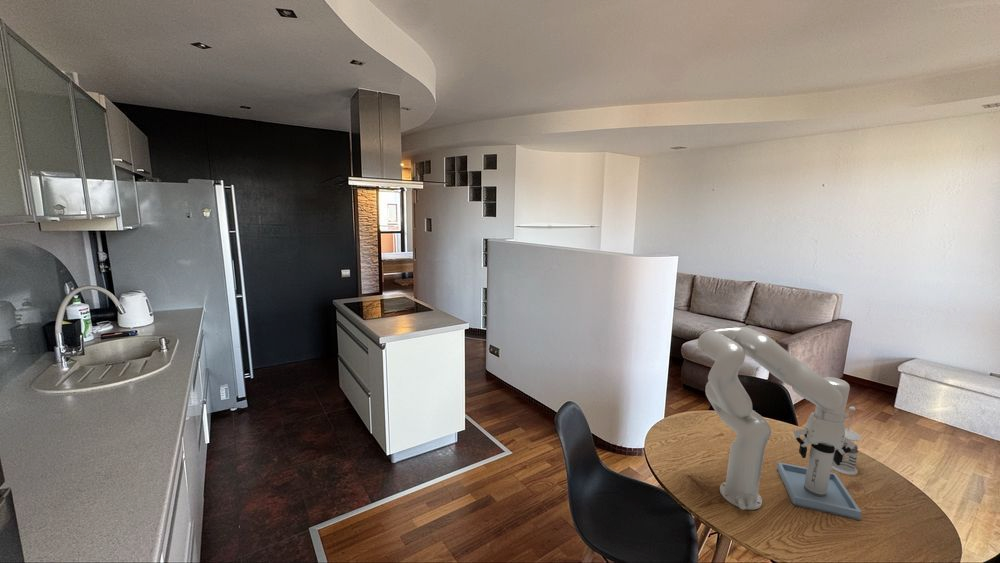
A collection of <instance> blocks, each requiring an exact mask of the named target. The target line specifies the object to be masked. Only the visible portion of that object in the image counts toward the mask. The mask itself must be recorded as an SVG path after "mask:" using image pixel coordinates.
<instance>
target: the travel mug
mask: <svg viewBox="0 0 1000 563" xmlns="http://www.w3.org/2000/svg"><path fill="white" fill-rule="evenodd" d="M834 450H835V448H834V446H832V447H830V446H825V445H823V444H819V443H818V445H814V444H810V450H809V454H808V460H807V466H806V468H807V471H806V477H805V483H804V488H805V490H806V491H808V492H809V493H811V494H813V495H815V496H819V497H824V496H826V494H827V488H828V483H829V478H830V473H832V472H831V471H832V468H831V467H832V462H833V457H834Z"/></svg>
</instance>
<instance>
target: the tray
mask: <svg viewBox="0 0 1000 563" xmlns="http://www.w3.org/2000/svg"><path fill="white" fill-rule="evenodd" d="M776 471H777V472H778V475H779V478H780V479H781V481H782V483H783V484H782V485H783V486H784V488H785V490H786V492H787V494H788V496H789V498H790V501H791V503H792V505H793V506H794V507H800V508H804V509H809V510H813V511H818V512H821V513H827V514H831V515H835V516H838V517H839V516H840V517H843V518H848V519H852V520H857V521H861V520H862V519H861V518H862V510H861V509H860V507H859V506H858V504H857V502H856V501H855V500H854V498H853V497H852V495H851V493H850V492H849V491H848V490H847V488H846V486H845V485H844V484H843V482H842V480H841V478H840V477H839V475H837V473H836V472H831V473H830V478H829V483H828V488H827V494H826V496H824V497H819V496H815V495H813V494H811V493H809V492H808V491H806V490H805V488H804V483H805V477H806V471H807V466H806V467H805V466H800V465H797V464H789V463H786V462H780V461H778V462H777V465H776Z"/></svg>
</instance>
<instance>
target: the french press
mask: <svg viewBox="0 0 1000 563" xmlns="http://www.w3.org/2000/svg"><path fill="white" fill-rule="evenodd" d="M848 410H849V411H850V415H849V417H850V418H849V422H848V427H847V428H846V427H845V437H846V438H848V439H849V440H851V441H852V442H857V441H858V442H859V441H861V440H862V436H861V435H860V434H858V433H857V432H856V431H854V430H852V429H850V424H851V419H852V414H853V412H856V410H857V409H856V408H855V406H849V407H848ZM847 445H848V444H847V443H846V442H844V445H843V447H844V446H847ZM858 449H859V447H858V445H857V444H856V446H855V447H854V448H853V449H851V451H850V452H848V453H846V454H845V455H843V458H842V462H840V465H836V463H835V462H834V460H833V462H832V467H831V470H834V471H836V472H839V473H842V474H845V475H849V476H850V475H856V474H858V472H859V470H858V469H857V468H856V464H857V459H858V454H859V450H858ZM836 450H838V449H835V450H834V454H835V451H836ZM833 459H834V457H833Z"/></svg>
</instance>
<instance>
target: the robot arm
mask: <svg viewBox="0 0 1000 563" xmlns="http://www.w3.org/2000/svg"><path fill="white" fill-rule="evenodd" d="M697 347H698V349H699V350H700V351H701V353H702V354H704V355H705V356H707V357H708V358H710V359H711V360H713V361H714V362H713V365H712V367H711V368H710V370H709V373H708V376H707V382H706V385H705V390H704V391H705V396H706V398H707V400H708V401H709V404H711V406H712V408H713V409H714V412H715V413H716V414H717V416H718V417H719V418H720V420H721V421H722V422H723V423H724V424H725V425H727V427H729V428H731V430H732V431H733V432H734V433H735V434H736V437H735V439H734V440H733V441H732V442H731V444H730V448H729V456H728V462H727V470H726V478H725V481H724V482H722V483H721V484H720V486H719V492H720V495H721V497H723V499H724V500H726V502H728V503H730V504H732V505H733V506H736V507H737V508H739V509H741V510H743V511H744V510H749V511H750V510H751V511H752V510H757V509H760V508H761V507H762V506H763V505H762V504H763V498H762V497H761V495H760V494H759V490H760V489H759V487H760V482H761V475H762V468H763V461H764V456H765V450H766V447H767V444H768V441H769V439H770V438H771V435H772V428H771V426H770V423H769V422H768V420H766V418H764V416H762V415H761V414H759V413H758V412H756V410H753V402H752V399H751V397H750V395H749V394H748V392H747V391H746V388H745V387H744V386H743V384H742V383H741V381H740V379H739V372H740V369H741V367H742V366H743V364H744V363H745V359H746V356H748V357H749V358H751V360H754V361H755V362H756V363H757V364H758V365H760V366H761V367H763V368H764V369H765V370H766V371H767V372H769V373H770V374H771V375H772V376H774V377H775V378H777V379H778V380H779V381H781V382H783V383H784V384H786V385H788V386H790V387H791V388H792V390H793V392H794V393H795V394H797V395H798V396H800V397H801V398H803V399H805V400H806V401H808V402H810V403H812V404H813V405H815V409H814V411H813V412H811V413H810V414H809V416H808V418H807V421H806V424H805V426H804V428H801V429H797V430H793V431H792V433H793V436H794V439H795V440H796V441H797V442H798V444H799V449H798V453H799V454H800V456H801V458H803V459H806V457H807V452H808V446H809V445H810V446H811V444H814V445H818V443H819V444H823V445H825V446H830V447H832V446H834V448H835V449H838V450H836V451H835V454H834V459H833V460H834V462H835V463H836V465H840V462H842V458H843V455H844V456H846V455H845V454H846V453H848V452H850V451H851V449H853V448H854V447H855V446H856V445H857V444H856V443H855V441H852V440H849V439H848V438H846V437H845V428H846V422H845V419H850V418H849V417H850V414H849V413H846V407H847V403H848V398H849V393H850V388H851V387H850V384H849V383H848V382H847V381H846V380H843V379H841V378H837V377H834V376H825V377H823V376H821V375H820V374H819V373H817V372H815V371H814V370H813V369H811V368H810V367H809V366H807V365H806V364H805V363H803V362H802V361H800V360H799V359H797V358H796V357H795V356H793V354H791V353H790V352H788V351H787V350H786V349H785V348H783V347H782V346H781V345H780V344H779V343H778V342H776V341H775V340H774V339H773V338H771V337H769V336H768V335H766V334H764V333H762V332H760V331H757V330H756V329H753V328H751V327H748V326H747V327H746V326H737V327H736V326H735V327H725V328H717V329H710V330H707V331H704V332H703V333H701V334H700V336H699V337H698V340H697ZM802 435H803V438H801V437H800V436H802ZM844 442H846V443H847V444H848V445H847V446H844V447H843V445H844Z"/></svg>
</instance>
